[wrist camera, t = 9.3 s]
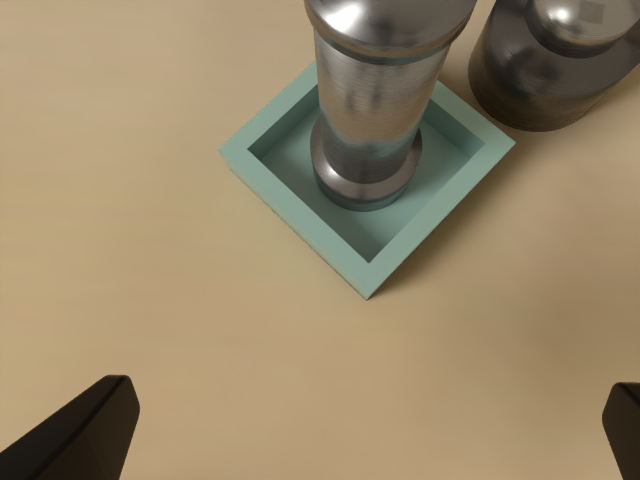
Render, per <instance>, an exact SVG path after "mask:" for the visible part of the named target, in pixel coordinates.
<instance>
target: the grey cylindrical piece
mask: <svg viewBox="0 0 640 480" xmlns="http://www.w3.org/2000/svg"><path fill="white" fill-rule="evenodd" d="M476 2H477V0H304V4H305V9H306V12H307V15H308V17H309V20H310V22H311V24H312V25H313V27H314V40H315V53H316V66H317V79H318V92H319V105H320V115H319V117H318V118H317V120H316V121H315V124H314V126H313V128H312V132H311V136H310V152H311V159H312V166H313V173H314V177H315V180H316V183H317V185H318V187H319V188H320V190H321V191H322V193H323V194H324V195H325V196H326V197H327V198H328V199H329V200H330V201H331V202H333V203H334V204H336V205H338V206H339V207H341V208H344V209H347V210H350V211H355V212H371V211H376V210H380V209H382V208H385V207H387V206H389V205H391V204H392V203H394V202H395V201H396V200H397V199H398V198H399V197H400V196H401V195H402V194H403V193H404V192H405V190H406V189H407V187H408V185H409V183H410V181H411V179H412V177H413V175H414V173H415V170H416V168H417V166H418V164H419V161H420V158H421V154H422V136H421V131H420V129H419V125H420V122H421V120H422V117H423V115H424V112H425V110H426V107H427V104H428V102H429V99H430V97H431V94H432V92H433V89H434V87H435V84H436V81H437V79H438V76H439V74H440V71H441V69H442V66H443V64H444V61H445V58H446V56H447V53H448V51H449V48H450V46H451V43H452V42H453V41H454V40H455V39H456V38H457V37H458V36H459V35H460V33H461V32H462V31H463V29H464V28H465V26H466V24H467V23H468V21H469V19H470V16H471V14H472V12H473V9H474V7H475V4H476Z"/></svg>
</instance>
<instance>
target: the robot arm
mask: <svg viewBox="0 0 640 480" xmlns="http://www.w3.org/2000/svg"><path fill="white" fill-rule="evenodd" d="M139 413H140V405H139V401H138V398H137V395H136V392H135V389H134V387H133V384H132V381H131V379H130V377H128V376H127V375H107V376H105V377H103V378H101V379H100V380H99V381H97V382H96V383H95V384H93V385H92V386H91V387H89V388H88V389H86V390H85V391H84V392H82V393H81V394H80V395H78V396H77V397H76V398H74V399H73V400H71V401H70V402H69V403H67V404H66V405H65V406H63V407H62V408H61V409H59V410H58V411H56V412H55V413H54V414H52V415H51V416H50V417H48V418H47V419H46V420H44V421H43V422H41V423H40V424H39V425H37V426H36V427H35V428H33V429H32V430H30V431H29V432H28V433H26V434H25V435H24V436H22V437H21V438H20V439H18V440H17V441H15V442H14V443H13V444H11V445H10V446H9V447H7V448H6V449H5V450H3V451H2V452H0V480H119V478H120V475H121V472H122V468H123V465H124V462H125V459H126V456H127V453H128V449H129V446H130V443H131V440H132V437H133V434H134V430H135V427H136V424H137V421H138V418H139ZM602 422H603V427H604V430H605V432H606V435H607V438H608V441H609V443H610V446H611V449H612V451H613V454H614V457H615V459H616V462H617V465H618V467H619V470H620V473H621V475H622V478H623V480H640V383H634V382H618V383H616V384H615V385H613V387H612V389H611V392H610V394H609V397H608V400H607V402H606V405H605V408H604V410H603V414H602Z"/></svg>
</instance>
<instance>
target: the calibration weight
mask: <svg viewBox="0 0 640 480" xmlns="http://www.w3.org/2000/svg"><path fill="white" fill-rule="evenodd" d="M639 63H640V0H496V2H495V4H494V6H493V8H492V11H491V13H490V15H489V17H488V19H487V21H486V24H485V26H484V28H483V30H482V32H481V34H480V37H479V39H478V41H477V43H476V45H475V47H474V50H473V52H472V54H471V57H470V60H469V67H468V76H469V82H470V85H471V89H472V91H473V93H474V95H475V97H476V99H477V100H478V102H479V103H480V105H481V106H482V107H483V108H484V109H485V110H486V111H487V112H488V113H489V114H490V115H491V116H493V117H494V118H495V119H497V120H498V121H500V122H502V123H504V124H506V125H508V126H511V127H513V128H516V129H520V130H524V131H531V132H544V131H552V130H557V129H560V128H563V127H565V126H567V125H569V124H571V123H573V122H575V121H576V120H578V119H579V118H580V117H581V116H582V115H583V114H584V113H586V112H587V111H588V110H589V109H590V108H591V107H592V106H593V105H594V104H595V103H596V102H597V101H599V100H600V99H601V98H602V97H603V96H604V95H605V94H606V93H607V92H608V91H609V90H610V89H612V88H613V87H614V86H615V85H616V84H617V83H618V82H619V81H620V80H621V79H622V78H623V77H624V76H626V75H627V74H628V73H629V72H630V71H631V70H632V69H633V68H634V67H635V66H636V65H637V64H639Z"/></svg>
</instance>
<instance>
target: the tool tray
mask: <svg viewBox="0 0 640 480" xmlns="http://www.w3.org/2000/svg"><path fill="white" fill-rule="evenodd" d="M319 115H320V105H319V92H318V79H317V66H316V60H315V61H314V62H313V63H312V64H311V65H310V66H308V67H307V68H306V69H305V70H304V71H303V72H302V73H301V74H300V75H299V76H298V77H296V78H295V79H294V80H293V81H292V82H291V83H290V84H289V85H288V86H287V87H286V88H285V89H283V90H282V91H281V92H280V93H279V94H278V95H277V96H276V97H275V98H274V99H273V100H271V101H270V102H269V103H268V104H267V105H266V106H265V107H264V108H263V109H262V110H261V111H259V112H258V113H257V114H256V115H255V116H254V117H253V118H252V119H251V120H250V121H249V122H247V123H246V124H245V125H244V126H243V127H242V128H241V129H240V130H239V131H238V132H237V133H235V134H234V135H233V136H232V137H231V138H230V139H229V140H228V141H227V142H226V143H225V144H223V145H222V146H221V147H220V148H219V149H218V151H219V153H220V154H221V156H222V157H223V159H224V161H225V162H226V164H227V165H228V167H229V168H230V170H231V171H232V172H233V173H234V174H235V175H236V176H237V177H238V178H239V179H240V180H241V181H242V182H243V183H244V184H245V185H246V186H247V187H249V188H250V189H251V190H252V191H253V192H254V193H255V194H256V195H257V196H258V197H259V198H260V199H261V200H262V201H263V202H264V203H265V204H266V205H267V206H268V207H269V208H270V209H271V210H272V211H273V212H274V213H276V214H277V215H278V216H279V217H280V218H281V219H282V220H283V221H284V222H285V223H286V224H287V225H288V226H289V227H290V228H291V229H292V230H293V231H294V232H295V233H296V234H297V235H298V236H299V237H300V238H301V239H303V240H304V241H305V242H306V243H307V244H308V245H309V246H310V247H311V248H312V249H313V250H314V251H315V252H316V253H317V254H318V255H319V256H320V257H321V258H322V259H323V260H324V261H325V262H326V263H327V264H329V265H330V266H331V267H332V268H333V269H334V270H335V271H336V272H337V273H338V274H339V275H340V276H341V277H342V278H343V279H344V280H345V281H346V282H347V283H348V284H349V285H350V286H351V287H352V288H353V289H354V290H356V291H357V292H358V293H359V294H360V295H361V296H362V297H363V298H364V299H365V300H367V299H368V298H369V297H370V296H371V295H372V294H373V293H374V292H375V291H376V290H377V289H378V288H379V287H380V286H381V285H382V284H383V283H384V282H385V280H386V279H387V278H388V277H389V276H390V275H391V274H392V273H393V272H394V271H395V270H396V269H397V268H398V267H399V266H400V265H401V264H402V263H403V262H404V261H405V260H406V259H407V257H408V256H409V255H410V254H411V253H412V252H413V251H414V250H415V249H416V248H417V247H418V246H419V245H420V244H421V243H422V242H423V241H424V240H425V239H426V238H427V237H428V236H429V235H430V233H431V232H432V231H433V230H434V229H435V228H436V227H437V226H438V225H439V224H440V223H441V222H442V221H443V220H444V219H445V218H446V217H447V216H448V215H449V214H450V213H451V212H452V210H453V209H454V208H455V207H456V206H457V205H458V204H459V203H460V202H461V201H462V200H463V199H464V198H465V197H466V196H467V195H468V194H469V193H470V192H471V191H472V190H473V189H474V188H475V186H476V185H477V184H478V183H479V182H480V181H481V180H482V179H483V178H484V177H485V176H486V175H487V174H488V173H489V172H490V171H491V170H492V169H493V168H494V167H495V166H496V165H497V163H498V162H499V161H500V160H501V159H502V158H503V157H504V156H505V154H506V153H507V152H508V151H509V150H510V149H511V148H512V147H513V146H514V144H515V143H516V142H515V141H513V140H512V139H511V138H510V137H508V136H507V135H506V134H505V133H503V132H502V131H501V130H500V129H498V128H497V127H496V126H495V125H493V124H492V123H491V122H490V121H488V120H487V119H486V118H485V117H483V116H482V115H481V114H480V113H478V112H477V111H476V110H475V109H473V108H472V107H471V106H470V105H468V104H467V103H466V102H465V101H463V100H462V99H461V98H460V97H458V96H457V95H456V94H455V93H453V92H452V91H451V90H450V89H448V88H447V87H446V86H445V85H443V84H442V83H441V82H440V81H438V80H437V81H436V84H435V87H434V89H433V92H432V94H431V97H430V99H429V102H428V104H427V107H426V110H425V112H424V115H423V117H422V120H421V122H420V125H419V129H420V131H421V136H422V154H421V158H420V161H419V164H418V166H417V168H416V170H415V173H414V175H413V177H412V179H411V181H410V183H409V185H408V187H407V189H406V190H405V192H404V193H403V194H402V195H401V196H400V197H399V198H398V199H397V200H396V201H395V202H394V203H392V204H391V205H389V206H387V207H385V208H382V209H380V210H376V211H371V212H355V211H350V210H347V209H344V208H341V207H339V206H338V205H336V204H334V203H333V202H331V201H330V200H329V199H328V198H327V197H326V196H325V195H324V194H323V193H322V191H321V190H320V188H319V187H318V185H317V183H316V180H315V177H314V173H313V166H312V159H311V152H310V136H311V132H312V128H313V126H314V124H315V121H316V120H317V118H318V117H319Z"/></svg>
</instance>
